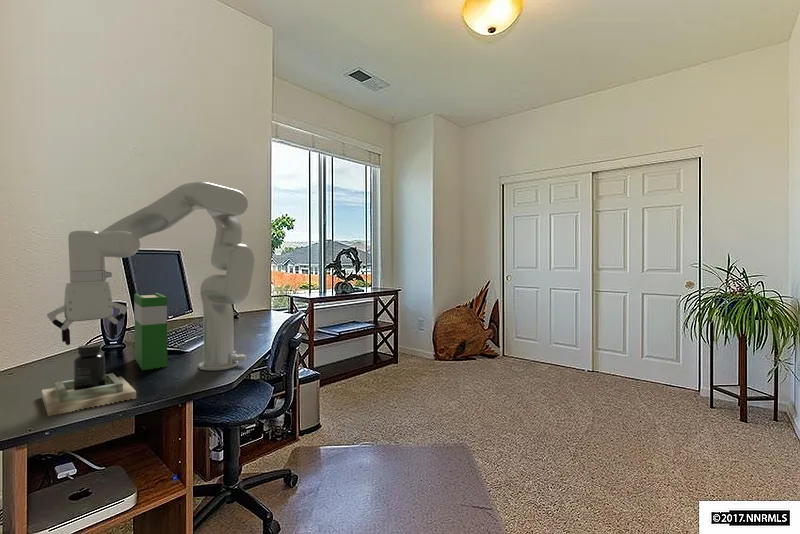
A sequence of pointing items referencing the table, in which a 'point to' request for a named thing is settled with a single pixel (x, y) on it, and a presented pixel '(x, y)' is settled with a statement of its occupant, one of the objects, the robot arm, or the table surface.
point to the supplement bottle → (89, 367)
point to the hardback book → (150, 330)
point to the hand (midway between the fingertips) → (90, 341)
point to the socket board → (85, 395)
